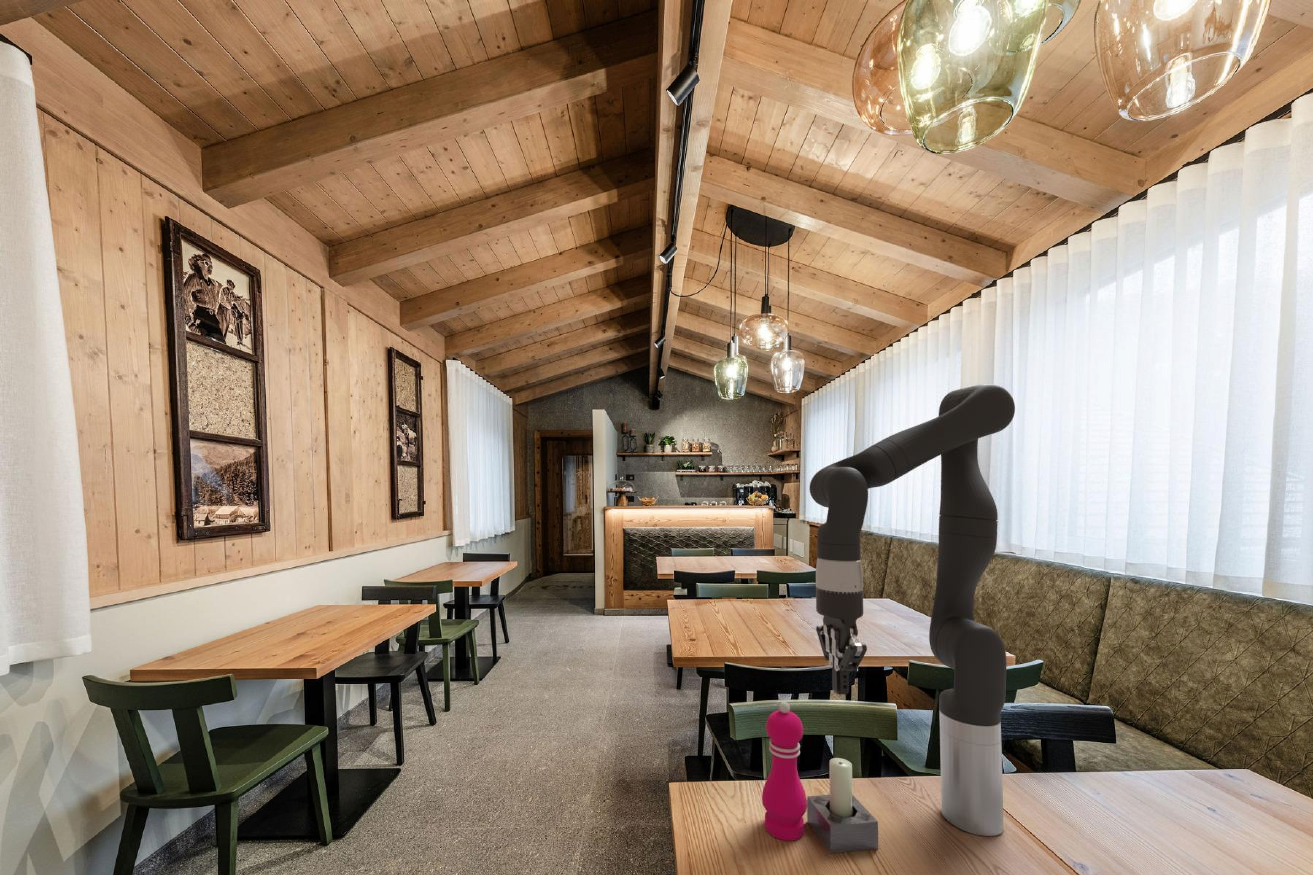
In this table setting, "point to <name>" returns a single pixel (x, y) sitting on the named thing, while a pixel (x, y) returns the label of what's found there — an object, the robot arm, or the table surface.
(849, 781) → the candle
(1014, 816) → the table surface
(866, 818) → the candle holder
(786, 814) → the pepper mill
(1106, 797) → the table surface
